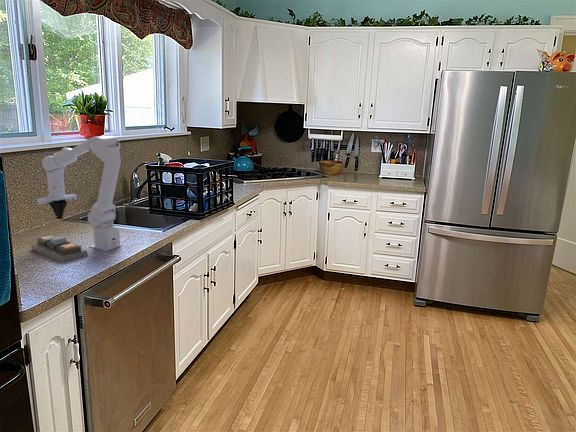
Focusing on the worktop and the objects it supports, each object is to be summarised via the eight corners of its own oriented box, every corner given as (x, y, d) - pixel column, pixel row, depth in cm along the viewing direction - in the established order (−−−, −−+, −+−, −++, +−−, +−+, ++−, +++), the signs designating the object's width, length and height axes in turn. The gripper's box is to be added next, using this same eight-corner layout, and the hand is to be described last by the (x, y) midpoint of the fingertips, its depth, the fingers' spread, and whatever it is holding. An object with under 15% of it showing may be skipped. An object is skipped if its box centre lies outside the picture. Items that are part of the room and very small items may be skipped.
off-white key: (56, 242, 164) (56, 237, 163) (46, 244, 161) (45, 239, 160) (51, 240, 166) (51, 235, 165) (41, 242, 163) (40, 237, 162)
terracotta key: (77, 250, 155) (76, 245, 155) (66, 253, 152) (65, 247, 152) (71, 248, 158) (71, 243, 157) (60, 250, 154) (60, 245, 154)
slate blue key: (66, 242, 159) (65, 237, 159) (55, 245, 156) (55, 239, 156) (61, 240, 161) (60, 235, 161) (50, 242, 158) (49, 237, 158)
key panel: (87, 255, 157) (86, 245, 156) (60, 262, 150) (59, 251, 149) (58, 243, 170) (57, 233, 169) (31, 249, 162) (30, 239, 161)
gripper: (69, 182, 176) (72, 213, 179) (32, 186, 164) (36, 220, 168) (78, 184, 172) (80, 216, 175) (40, 189, 160) (44, 223, 164)
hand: (59, 218), depth 171 cm, fingers closed
